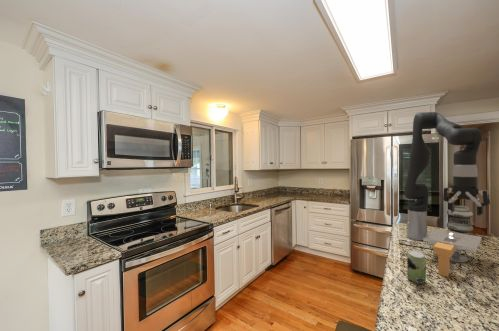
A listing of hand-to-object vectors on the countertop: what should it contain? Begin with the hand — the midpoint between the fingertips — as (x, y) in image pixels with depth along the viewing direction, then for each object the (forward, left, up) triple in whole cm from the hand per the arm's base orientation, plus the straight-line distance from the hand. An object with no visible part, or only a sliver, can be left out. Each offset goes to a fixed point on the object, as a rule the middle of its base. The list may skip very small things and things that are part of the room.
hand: (465, 213), depth 96 cm
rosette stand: (-6, +10, -26) cm, 28 cm away
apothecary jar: (-9, +54, -26) cm, 60 cm away
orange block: (-6, -8, -26) cm, 27 cm away
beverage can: (-12, -23, -26) cm, 36 cm away
